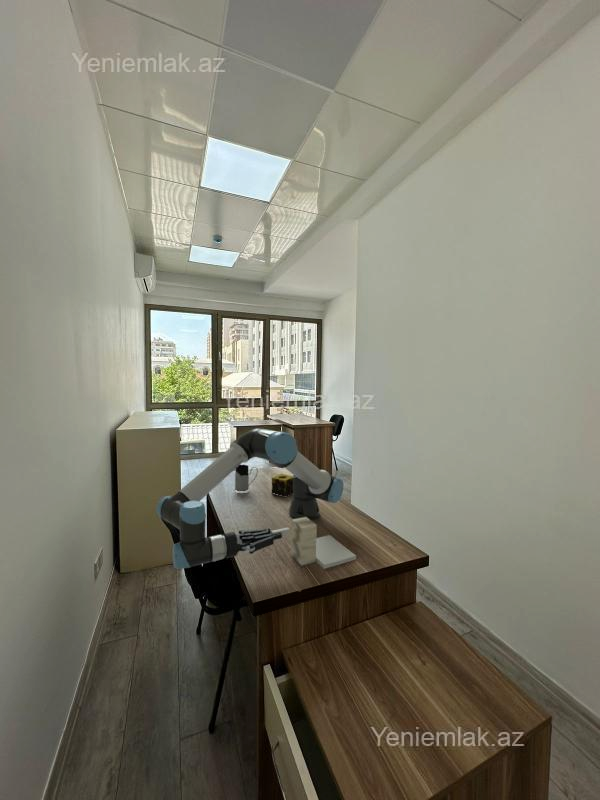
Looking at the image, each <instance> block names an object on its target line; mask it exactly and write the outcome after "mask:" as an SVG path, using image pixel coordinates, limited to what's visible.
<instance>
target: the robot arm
mask: <svg viewBox="0 0 600 800" xmlns="http://www.w3.org/2000/svg"><path fill="white" fill-rule="evenodd" d="M229 444H230V445H229V448H228V449H227V450H225V452H224V453H222V454H221V455H219V456H218V458H216V459H215V460H214V461H213V462H211V463H210V464H209V465H208V466H207V467H205V469H203V470H202V471H201V472H200V473H199V474H198V475H196V476H195V477H194V478H193V479H192V480H190V481H189V482H188V483H187V484H186V485H184V486H183V487H182V488H180V490H179V491H177V492H176V493H175V494H174V495H166V496H163V497H161V498H160V500H159V501H158V502H157V504H156V508H155V509H156V514H157V516H159V517H160V518H161V519H162V520H163V521H164V522H167V523H169V524H170V525H172V526H173V527H175V528H176V529H178V530H179V542H177V543H174V544H173V546H172V554H171V555H172V565H173V567H174V569H175V570H182V569H188V568H192V567H195V566H199V565H203V564H208V563H212V562H216V561H220V560H223V559H229V558H233V557H236V556H237V555H238V553H239V552H245V551H249V554H251V555H252V554H254V553H255V552H257V551H259V550H262V549H264V548H267V547H269V546H271V545H274V541H275V540H279V539H285V538H288V537H290V528H289V527H288V526H287V527H283V528H279V529H275V530H274V529H273V530H271V528H270V527H268V528H260V529H259V528H258V529H247V530H245V529H244V530H243V529H240V530H238V534H236V533H235V532H233V531H231V532H225V533H223V534H222V533H220V534H215V535H212V536H211V535H210V536H208V537H206V517H207V514H206V505H205V503H204V502H203V501H202V500H203V499H204V498H205V497H206V496H207V495H208V494H210V492H212V491H213V490H214V489H215V488H216V487H217V486H219V484H221V483H222V482H223V481H224V480H225V479H226V478H227V477H228V476H229V475H230V474H231V473H233V472H234V471H236V468H237V467H238V466H239V465H242V464H243V463H244V464H245V463H247V462H249V460H251V459H254V458H259V459H261V460H266V461H268V462H269V463H271V464H272V465H274V466H275V467H277V468H278V469H286V470H287V471H288V472H289V473H291V474H292V476H293V494H292V500H291V503H290V506H289V509H288V515H289V516H290V517H291V518H293V519H298V518H303V517H307V518H308V519H310V520H314V519H317V518H318V517H319V516H320V507H319V504H318V501H317V499H318V500H321V501H325V502H327V503H329V504H330V503H331V504H336V503H338V501H340V499H341V497H342V495H343V492H344V481H343V480H342V478H340V477H339V476H337V477H336V476H333V475H332V474H330V472H328V471H327V470H325V469H320V468H319V467H317V466H316V465H315V464H314V463H312V461H311V460H309V459H308V458H307V457H306V456H304V455H303V454H302V453H301V452H299V450H298V445H297V440H296V438H295V437H294V436H293V435H292V434H290V433H288V432H285V431H282V430H271V429H268V428H267V429H266V428H261V427H258V428H253V429H250V430H248V431H246V432H245V433H244V434H242V435H240V436H238V438H236V439H235V440H233V441H232V442H231V443H229Z"/></svg>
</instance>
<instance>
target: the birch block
mask: <svg viewBox="0 0 600 800" xmlns="http://www.w3.org/2000/svg"><path fill="white" fill-rule="evenodd" d="M291 521H292V522H291V557H292V558H293V559H294V560H295V562H297V563H298V564H299V565H300V567H305V566H308V565H310V564H312V565H313V564H316V563H317V562H316V538H318V537H317V534H318V533H317V531H318V530H317V528H318V527H317V524H316V523H315V522H313V521H312V519H308V518H307V517H303V518H298V519H295V518H293V519H291Z"/></svg>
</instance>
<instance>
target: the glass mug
mask: <svg viewBox="0 0 600 800" xmlns="http://www.w3.org/2000/svg"><path fill="white" fill-rule="evenodd" d="M253 468H254V469H255V468H256V474H255V476H254V478H253V479H252V480H251V482H250V481H249V476H250V475H251V474H252V470H253ZM234 471H235V473H234V477H235V478H234V487H235V488H234V491H235V490H237V491H246V490H248V489H249V487H250V485H251V484H252V483H253V482H254V481H255V479H256V478H257V476H258V472H259V470H258V467H256V466H252V467H251V468H250V470H249V465H248V464H240V465H239V466H238V467H237V468H236V469H235V470H234ZM249 471H250V472H249ZM249 490H250V489H249Z"/></svg>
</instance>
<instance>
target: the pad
mask: <svg viewBox="0 0 600 800" xmlns="http://www.w3.org/2000/svg"><path fill="white" fill-rule="evenodd" d="M356 560H357V555H356V554H355V553H353V552H352V551H350V550H349V549H348V548H346V546H344V545H343V544H342V543H340V542H339V541H338V540H336V538H334V537H333V536H332V535H330V534H328V535H324V536H321V537H316V562H315V563H317V564H318V565H319V566H320V567H321V568H322V569H323V570H325V569H329V568H332V567H335V566H338V565H341V564H346V563H349V562H352V561H353V562H354V561H356Z"/></svg>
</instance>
